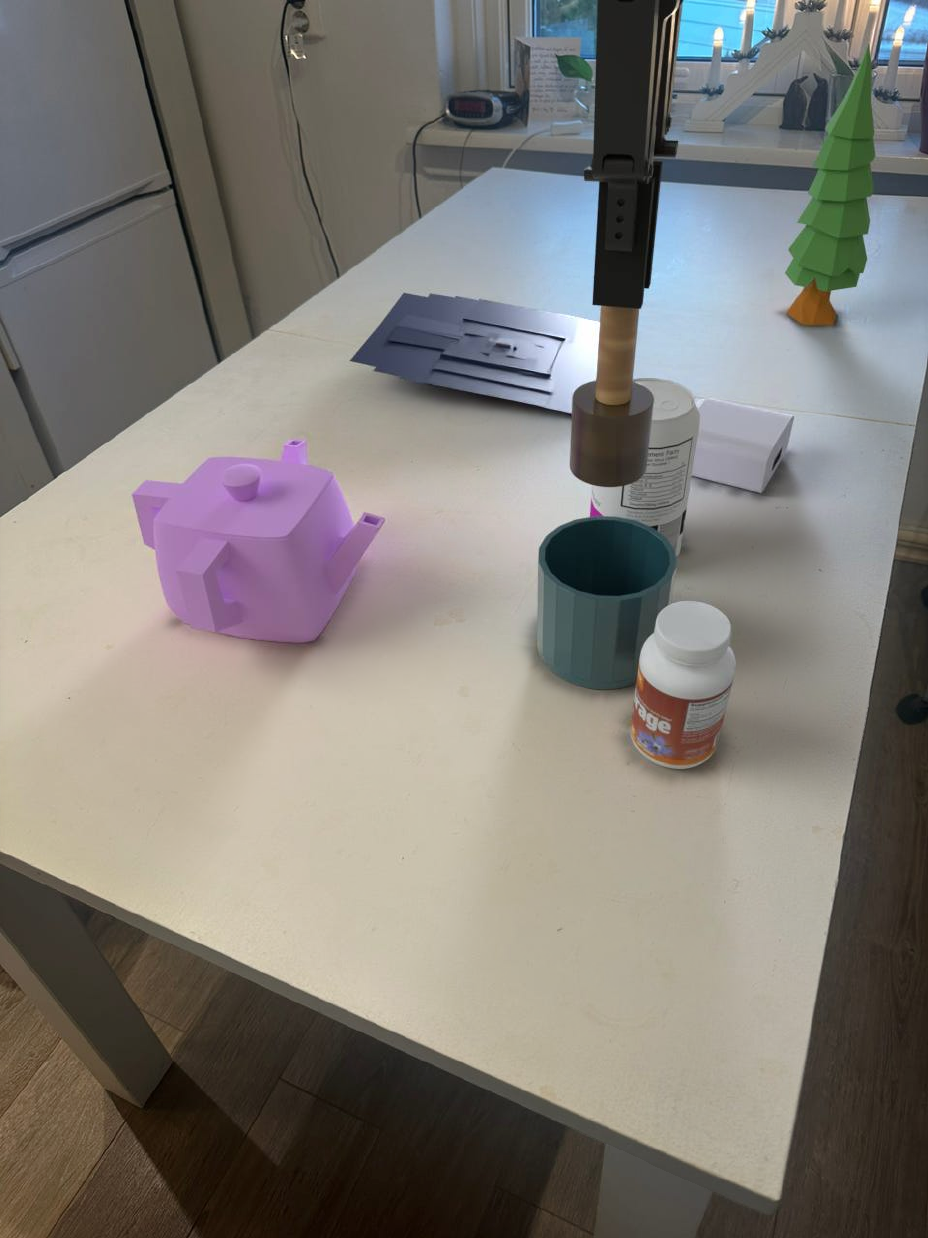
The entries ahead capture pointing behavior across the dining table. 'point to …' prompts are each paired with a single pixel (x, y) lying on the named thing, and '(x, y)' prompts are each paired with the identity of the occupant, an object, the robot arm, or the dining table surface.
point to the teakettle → (254, 545)
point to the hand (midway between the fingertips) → (622, 293)
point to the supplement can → (659, 466)
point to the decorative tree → (836, 207)
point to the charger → (739, 443)
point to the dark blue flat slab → (485, 348)
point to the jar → (601, 598)
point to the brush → (612, 408)
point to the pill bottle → (683, 685)
